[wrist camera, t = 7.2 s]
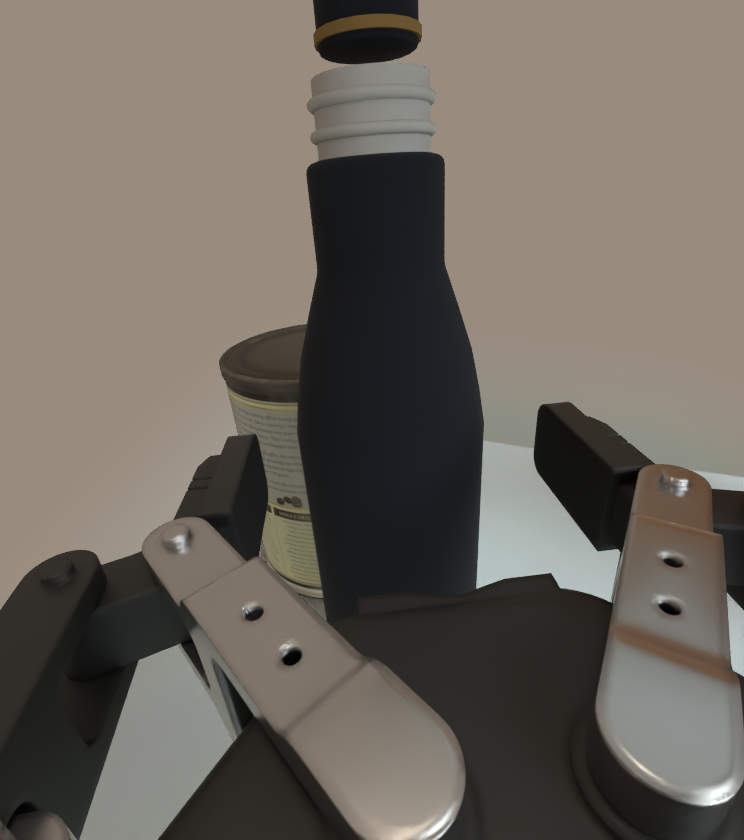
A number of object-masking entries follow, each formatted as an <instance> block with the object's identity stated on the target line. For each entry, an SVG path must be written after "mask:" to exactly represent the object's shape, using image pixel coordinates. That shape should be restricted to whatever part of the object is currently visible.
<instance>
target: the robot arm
mask: <svg viewBox="0 0 744 840" xmlns="http://www.w3.org/2000/svg"><path fill="white" fill-rule="evenodd" d="M534 462H535V466H536V469H537V471H538V473H539V475H540V476H541V477H542V479H543V480H544V481H545V483H546V484H547V485H548V487H549V488H550V489H551V491H552V492H553V493H554V495H555V496H556V497H557V498H558V500H559V501H560V502H561V504H562V505H563V506H564V508H565V509H566V510H567V512H568V513H569V514H570V516H571V517H572V518H573V520H574V521H575V522H576V523H577V525H578V526H579V527H580V529H581V530H582V531H583V533H584V534H585V535H586V537H587V538H588V539H589V541H590V542H591V543H592V545H593V546H594V547H595V548H596V550H597V551H605V550H613V549H619V551H620V552H621V553H620V558H619V562H618V567H617V572H616V577H615V582H614V586H613V591H612V596H611V601H610V602H608V601H606V600H604V599H602V598H599V597H596V596H593V595H591V594H587V593H583V592H579V591H575V590H569V589H562V588H560V587H559V586H558V584H557V582H556V581H555V579H554V577H553V576H552V574H551V573H549V574H541V575H533V576H525V577H517V578H509V579H503V580H500V581H497V582H495V583H492V584H489V585H486V586H484V587H481V588H478V589H475V590H473V591H470V592H467V593H464V594H461V595H445V594H433V593H421V592H408V591H403V592H395V593H387V594H379V595H371V596H363V597H357V604H358V613H357V614H354V615H351V616H349V617H347V618H345V619H343V620H341V621H339V622H337V623H336V624H334V625H332V626H331V625H330V624H329V623H328V622H327V621H326V620H325V619H324V618H322V617H321V616H320V615H319V614H318V613H317V612H316V611H315V610H314V609H313V608H312V607H311V606H310V605H309V604H308V603H307V602H306V601H305V600H304V599H303V598H302V597H301V596H300V595H299V594H298V593H297V592H296V591H295V590H293V589H292V588H291V587H290V586H289V585H288V584H287V583H286V582H285V581H284V580H283V579H282V578H281V577H280V576H279V575H278V574H277V573H276V572H275V571H274V570H273V569H272V568H271V567H270V566H269V565H268V564H267V563H266V562H264V561H263V560H262V559H261V558H260V557H258V556H259V550H260V545H261V539H262V534H263V528H264V523H265V517H266V512H267V506H268V484H267V478H266V474H265V469H264V464H263V459H262V454H261V449H260V445H259V440H258V437H257V435H256V434H249V435H239V436H230V437H228V438H227V440H226V443H225V445H224V448H223V450H222V453H221V455H215V456H210V457H209V458H207V459H206V460H205V461H204V462H203V463H202V464H201V465H200V466H198V468H197V470H196V472H195V474H194V477H193V481H191V483H190V485H189V487H188V491H187V492H186V494H185V496H184V498H183V501H182V503H181V505H180V507H179V509H178V511H177V513H176V516H175V518H174V520H173V521H170V522H168V523H165V524H163V525H161V526H160V527H158V528H157V529H155V530H154V531H153V532H151V533H150V534H149V535H148V536H147V538H146V539H145V541H144V542H143V545H142V551H141V552H139V553H136V554H134V555H131V556H128V557H125V558H122V559H119V560H116V561H113V562H110V563H107V564H104V565H101V564H100V561H99V559H98V557H97V555H96V554H94V553H93V552H90V551H87V550H75V551H70V552H65V553H62V554H59V555H56V556H54V557H52V558H50V559H48V560H46V561H44V562H42V563H41V564H39V565H38V566H36V567H35V568H34V569H32V570H31V571H30V572H29V573H28V574H27V575H25V577H24V578H23V579H22V580H21V582H20V583H19V584H18V586H17V587H16V589H15V590H14V591H13V593H12V594H11V596H10V597H9V599H8V600H7V601H6V603H5V604H4V606H3V607H2V609H1V610H0V840H79V839H80V836H81V833H82V829H83V826H84V823H85V820H86V817H87V814H88V811H89V808H90V805H91V802H92V799H93V796H94V793H95V790H96V787H97V784H98V781H99V778H100V775H101V772H102V769H103V766H104V763H105V760H106V757H107V754H108V751H109V748H110V745H111V742H112V739H113V736H114V733H115V730H116V727H117V724H118V721H119V718H120V715H121V712H122V709H123V706H124V703H125V700H126V697H127V694H128V691H129V688H130V685H131V682H132V679H133V676H134V672H135V669H136V666H137V663H138V660H140V659H142V658H145V657H147V656H150V655H152V654H155V653H157V652H160V651H162V650H165V649H167V648H170V647H172V646H175V645H177V644H178V646H179V648H180V650H181V651H182V653H183V654H184V656H185V658H186V659H187V661H188V662H189V664H190V666H191V667H192V669H193V670H194V672H195V674H196V675H197V677H198V678H199V680H200V682H201V683H202V685H203V687H204V688H205V690H206V691H207V693H208V695H209V696H210V698H211V699H212V701H213V703H214V704H215V706H216V708H217V710H218V712H219V714H220V716H221V718H222V720H223V723H224V725H225V727H226V729H227V731H228V733H229V734H230V736H231V738H232V740H233V744H232V745H231V746H230V747H229V749H228V750H227V751H226V753H225V754H224V755H223V756H222V758H221V759H220V760H219V762H218V763H217V764H216V765H215V767H214V768H213V769H212V771H211V772H210V773H209V774H208V776H207V777H206V778H205V780H204V781H203V782H202V783H201V785H200V786H199V787H198V789H197V790H196V791H195V792H194V794H193V795H192V796H191V798H190V799H189V800H188V801H187V803H186V804H185V805H184V807H183V808H182V809H181V810H180V812H179V813H178V814H177V816H176V817H175V818H174V819H173V821H172V822H171V823H170V825H169V826H168V827H167V828H166V830H165V831H164V832H163V834H162V835H161V836H160V837H159V839H158V840H744V677H743V676H742V675H740V674H738V673H736V672H734V671H733V670H732V666H731V656H730V640H729V623H728V607H727V593H728V594H729V595H730V596H731V597H732V598H733V599H734V600H735V601H736V603H737V604H738V605H739V606H740V607H741V608H742V609H743V610H744V491H732V490H719V489H711V485H710V484H709V482H708V481H707V480H706V479H705V478H703V477H702V476H700V475H699V474H697V473H695V472H693V471H690V470H688V469H685V468H682V467H677V466H673V465H664V464H655V463H653V462H652V461H651V460H650V459H648V458H647V457H646V456H645V455H644V454H642V453H641V452H640V451H639V450H637V449H636V448H635V447H634V446H633V445H631V444H630V443H627V440H625V439H624V438H623V437H622V436H621V435H619V436H618V433H617V432H616V431H614V430H613V429H612V428H611V427H610V426H608V425H607V424H605V423H603V422H601V421H599V420H596V419H594V418H591V417H587V416H585V415H584V414H583V413H582V412H581V411H580V410H579V409H577V408H576V407H575V406H574V405H573V404H572V403H570V402H562V403H553V404H543V405H541V406H540V408H539V410H538V417H537V426H536V436H535V445H534Z"/></svg>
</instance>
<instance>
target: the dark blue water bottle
mask: <svg viewBox="0 0 744 840" xmlns="http://www.w3.org/2000/svg"><path fill="white" fill-rule="evenodd" d="M313 3H314V14H315V24H316V31H315V33H314V44H315V45H314V46H315V48H316V50H317V51H318V52H319V53H320V55H321V57H322V58H324V59H326V60H328V61H331V62H336V63H342V64H356V65H350V66H344V67H339V68H335V69H332V70H328V71H324V72H322V73H320V74H318V75H316V76H314V77H313V78H312V79H311V89H312V98H311V99H310V100H309V101H308V103H307V109H308V111H309V112H310V113H311V114H312V115H314V117H315V128H316V131H315V132H314V133H312V134H311V136H310V139H311V142H312V143H313V144H315V145H317V146H318V156H319V160H318V162H316V163H313V164H311V165H310V166H309V167H308V169H307V174H306V175H307V184H308V192H309V201H310V209H311V218H312V226H313V235H314V244H315V252H316V261H317V278H316V283H315V287H314V292H313V297H312V302H311V307H310V312H309V317H308V322H307V327H306V333H305V338H304V343H303V348H302V354H301V360H300V373H299V387H298V411H297V435H298V441H299V448H300V454H301V460H302V467H303V473H304V479H305V485H306V492H307V498H308V504H309V511H310V517H311V523H312V529H313V536H314V542H315V548H316V555H317V561H318V567H319V573H320V580H321V586H322V592H323V599H324V605H325V611H326V618H327V622H328V623H329V624H330V625H331V626H332V625H334V624H336V623H337V622H339V621H341V620H343V619H345V618H347V617H349V616H351V615H354V614H357V613H358V604H357V597H363V596H371V595H379V594H387V593H395V592H403V591H408V592H421V593H433V594H445V595H461V594H464V593H467V592H470V591H473V590H475V589H476V581H477V559H478V538H479V516H480V495H481V474H482V452H483V430H484V420H483V413H482V406H481V398H480V391H479V384H478V379H477V374H476V369H475V363H474V358H473V353H472V348H471V345H470V342H469V338H468V335H467V332H466V329H465V325H464V322H463V319H462V316H461V313H460V309H459V306H458V303H457V300H456V297H455V294H454V291H453V288H452V285H451V282H450V279H449V276H448V273H447V270H446V267H445V262H444V196H445V195H444V190H445V186H444V182H445V179H444V177H445V168H444V167H445V164H444V159H443V158H442V156H440V155H439V154H435V153H432V152H431V150H430V137H431V136H432V135H433V134H434V133H435V132H436V129H437V128H436V125H435V124H434V123H432V122H430V105H432V104H433V103H434V101H435V100H436V92H435V91H434V90H432V89H431V88H430V70H429V69H428V68H426V67H425V66H421V65H418V64H413V63H402V62H385V61H390V60H394V59H398V58H401V57H403V56H406V55H408V54H410V53H411V52H413V51H414V50H415V49H416V48H417V45H418V43H419V42H420V41H421V37H422V25H421V24H420V23H419V21H418V0H313Z"/></svg>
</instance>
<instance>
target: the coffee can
mask: <svg viewBox="0 0 744 840" xmlns="http://www.w3.org/2000/svg"><path fill="white" fill-rule="evenodd" d="M306 327H307V324H305V325H297V326H291V327H287V328H282V329H278V330H274V331H269V332H266V333H263V334H260V335H257V336H254V337H251V338H249V339H246V340H244V341H242V342H240V343H238V344H236V345H234V346H233V347H231V348H229V349H228V350H227V351H226V352H225V353H224V354H223V355H222V357H221V358H220V361H219V365H220V369H221V373H222V376H223V378H224V380H225V381H226V384H227V389H228V394H229V398H230V402H231V406H232V410H233V415H234V419H235V423H236V428H237V432H238V436H239V435H249V434H256V435H257V437H258V440H259V445H260V449H261V454H262V459H263V464H264V469H265V474H266V478H267V484H268V506H267V512H266V517H265V523H264V528H263V534H262V539H263V543H264V547H265V556H266V562H267V564H268V565H269V566H270V567H271V568H272V569H273V570H274V571H275V572H276V573H277V574H278V575H279V576H280V577H281V578H282V579H283V580H284V581H285V582H286V583H287V584H288V585H289V586H290V587H291V588H292V589H293V590H295V591H296V592H297V593H299V594H304V595H306V596H310V597H316V598H323V592H322V586H321V580H320V573H319V567H318V561H317V555H316V548H315V542H314V536H313V529H312V523H311V517H310V511H309V504H308V498H307V492H306V485H305V479H304V473H303V467H302V460H301V454H300V448H299V441H298V435H297V411H298V387H299V373H300V360H301V354H302V348H303V343H304V338H305V333H306Z"/></svg>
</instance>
